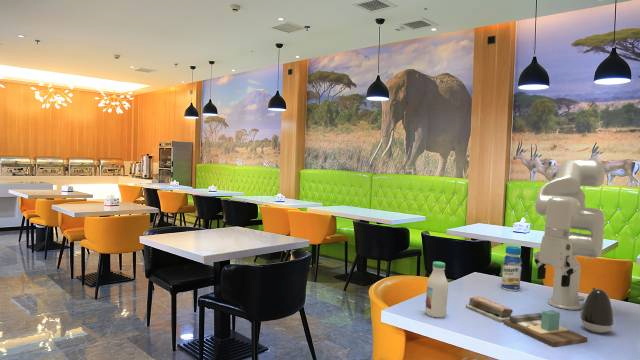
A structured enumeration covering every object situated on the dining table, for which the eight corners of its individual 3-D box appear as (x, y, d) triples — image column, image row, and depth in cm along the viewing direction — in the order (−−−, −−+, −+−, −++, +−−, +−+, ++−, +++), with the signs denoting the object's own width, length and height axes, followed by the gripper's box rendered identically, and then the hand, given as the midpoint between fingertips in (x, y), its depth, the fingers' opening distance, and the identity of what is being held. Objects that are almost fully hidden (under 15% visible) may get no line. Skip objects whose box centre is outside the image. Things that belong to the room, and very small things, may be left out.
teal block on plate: (553, 324, 165) (554, 307, 165) (567, 330, 159) (569, 312, 159) (526, 328, 160) (527, 309, 160) (540, 334, 154) (542, 315, 154)
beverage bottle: (522, 289, 218) (525, 247, 217) (516, 292, 211) (519, 249, 211) (504, 285, 223) (508, 244, 222) (497, 288, 217) (501, 246, 216)
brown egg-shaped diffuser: (605, 327, 170) (609, 287, 170) (617, 337, 160) (621, 294, 159) (575, 323, 172) (579, 283, 172) (585, 333, 162) (588, 291, 162)
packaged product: (465, 296, 185) (483, 294, 189) (464, 308, 185) (482, 306, 189) (500, 310, 169) (519, 308, 173) (500, 323, 169) (518, 321, 173)
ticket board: (535, 320, 174) (536, 311, 173) (586, 341, 154) (587, 331, 154) (503, 324, 167) (504, 314, 167) (552, 347, 148) (553, 336, 148)
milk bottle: (447, 313, 176) (451, 262, 175) (444, 319, 169) (447, 266, 168) (427, 309, 179) (430, 259, 178) (423, 315, 172) (426, 262, 171)
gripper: (587, 237, 151) (583, 289, 151) (543, 229, 167) (539, 275, 167) (571, 238, 148) (567, 290, 149) (528, 229, 164) (524, 276, 164)
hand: (552, 282), depth 158 cm, fingers open, 9 cm apart
